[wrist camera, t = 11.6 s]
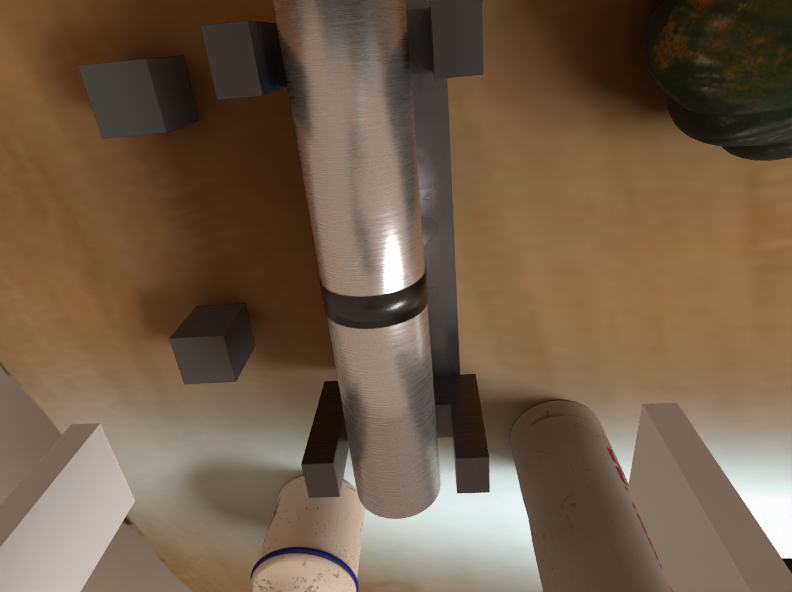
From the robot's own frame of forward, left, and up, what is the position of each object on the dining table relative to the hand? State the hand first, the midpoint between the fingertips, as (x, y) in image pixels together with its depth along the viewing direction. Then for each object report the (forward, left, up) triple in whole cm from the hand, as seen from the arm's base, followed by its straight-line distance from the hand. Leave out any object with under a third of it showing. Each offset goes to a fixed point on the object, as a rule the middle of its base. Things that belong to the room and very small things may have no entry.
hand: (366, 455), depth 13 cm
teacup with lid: (+33, -10, -27) cm, 43 cm away
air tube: (+2, -1, -15) cm, 16 cm away
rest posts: (+2, -15, -26) cm, 31 cm away
